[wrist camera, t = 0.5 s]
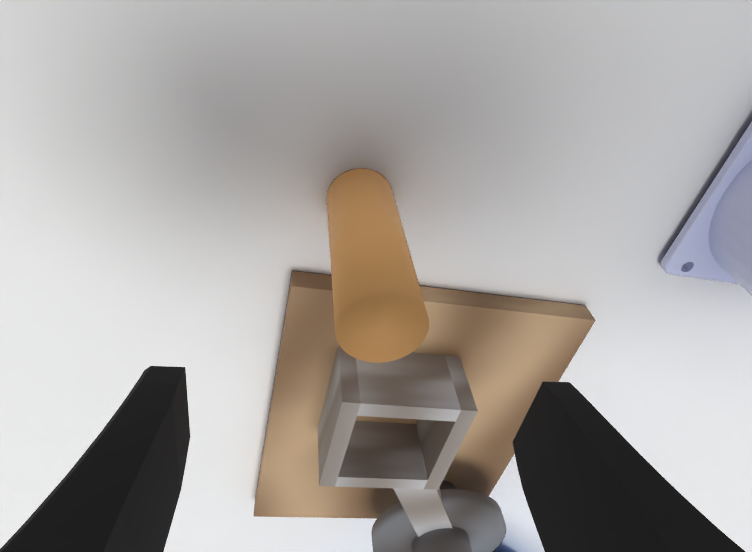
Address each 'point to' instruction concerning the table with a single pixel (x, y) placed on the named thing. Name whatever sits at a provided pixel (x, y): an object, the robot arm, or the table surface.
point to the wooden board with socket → (409, 415)
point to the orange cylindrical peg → (372, 271)
